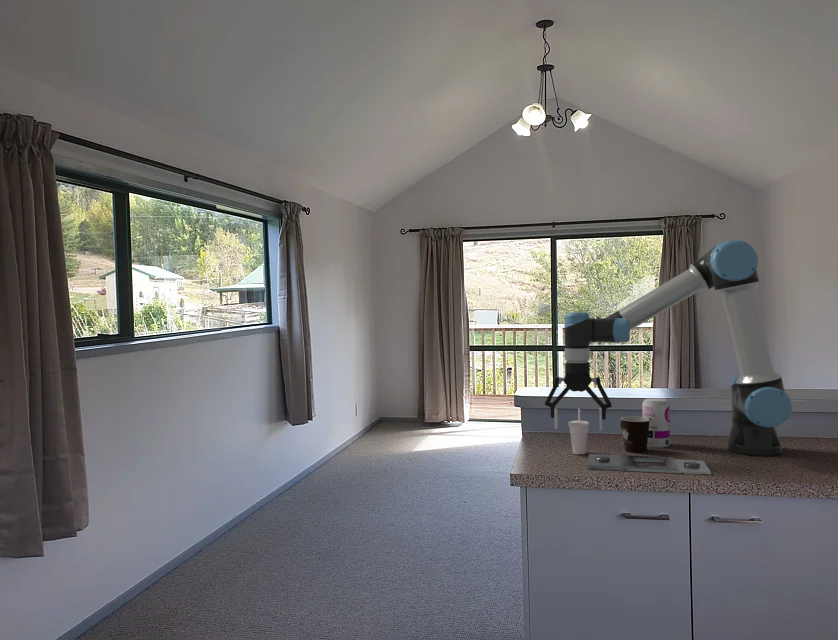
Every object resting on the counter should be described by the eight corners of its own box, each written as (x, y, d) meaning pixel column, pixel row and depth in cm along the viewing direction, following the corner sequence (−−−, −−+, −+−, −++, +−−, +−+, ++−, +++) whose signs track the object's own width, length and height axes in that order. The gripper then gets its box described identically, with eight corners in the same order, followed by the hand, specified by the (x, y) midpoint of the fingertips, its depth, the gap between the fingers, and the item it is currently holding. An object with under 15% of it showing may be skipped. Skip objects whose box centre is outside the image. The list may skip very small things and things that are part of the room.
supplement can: (672, 444, 200) (671, 398, 200) (667, 449, 193) (666, 402, 193) (646, 441, 205) (645, 397, 204) (640, 446, 198) (639, 400, 197)
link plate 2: (703, 462, 176) (703, 458, 176) (711, 474, 164) (711, 470, 164) (624, 459, 182) (624, 455, 182) (626, 470, 170) (626, 466, 170)
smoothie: (593, 452, 191) (592, 408, 191) (583, 456, 187) (582, 411, 186) (575, 449, 196) (574, 406, 196) (564, 453, 191) (563, 409, 191)
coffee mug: (652, 454, 188) (651, 421, 187) (623, 453, 189) (622, 421, 189) (646, 445, 199) (645, 415, 199) (618, 445, 201) (618, 414, 201)
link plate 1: (672, 461, 178) (672, 455, 178) (678, 473, 166) (678, 466, 166) (588, 457, 185) (588, 451, 185) (588, 469, 173) (587, 462, 173)
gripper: (618, 360, 191) (619, 428, 191) (538, 360, 198) (539, 425, 198) (619, 363, 184) (620, 433, 184) (535, 362, 191) (536, 429, 191)
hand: (578, 429), depth 191 cm, fingers open, 13 cm apart
